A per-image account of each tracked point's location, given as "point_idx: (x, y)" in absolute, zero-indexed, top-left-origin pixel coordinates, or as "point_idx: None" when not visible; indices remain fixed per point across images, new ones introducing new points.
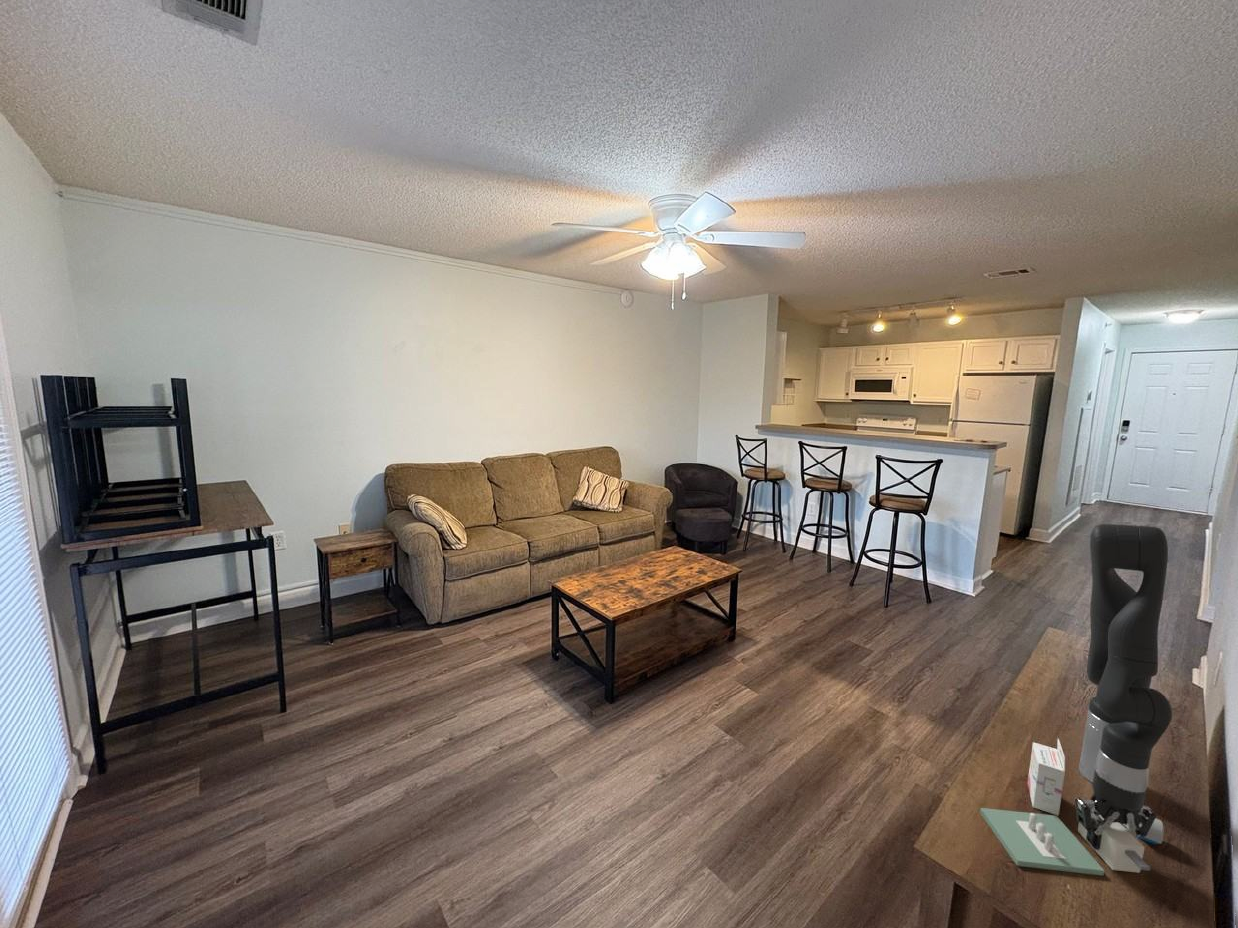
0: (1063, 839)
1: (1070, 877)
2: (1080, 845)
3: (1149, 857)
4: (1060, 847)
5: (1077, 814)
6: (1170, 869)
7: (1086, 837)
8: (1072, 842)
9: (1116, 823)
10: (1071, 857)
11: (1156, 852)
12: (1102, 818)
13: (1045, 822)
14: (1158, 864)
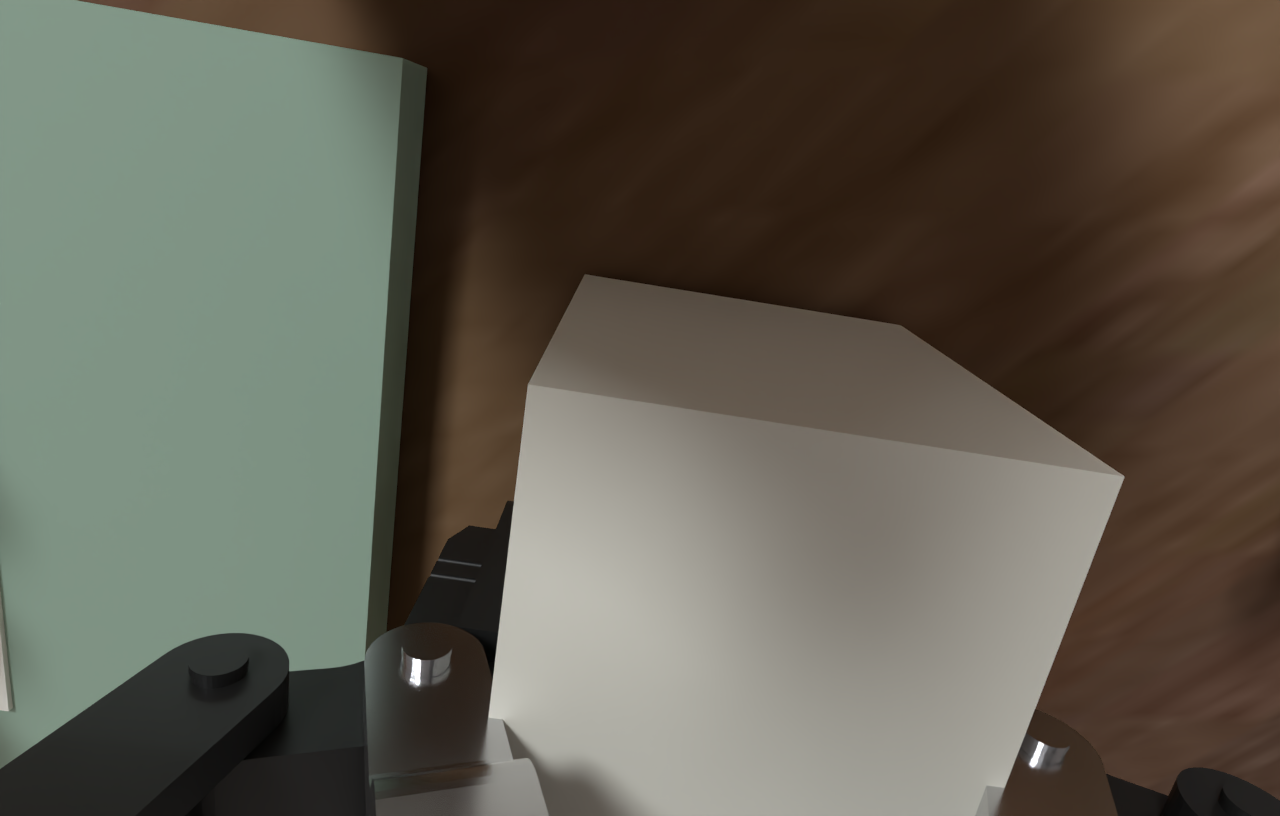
0: (183, 472)
1: None
2: (344, 559)
3: (1106, 625)
4: (53, 578)
5: (21, 779)
6: (1155, 744)
7: (447, 546)
8: (273, 517)
9: (899, 804)
10: (98, 694)
11: (1271, 575)
12: (733, 681)
13: (112, 192)
14: (1100, 696)
